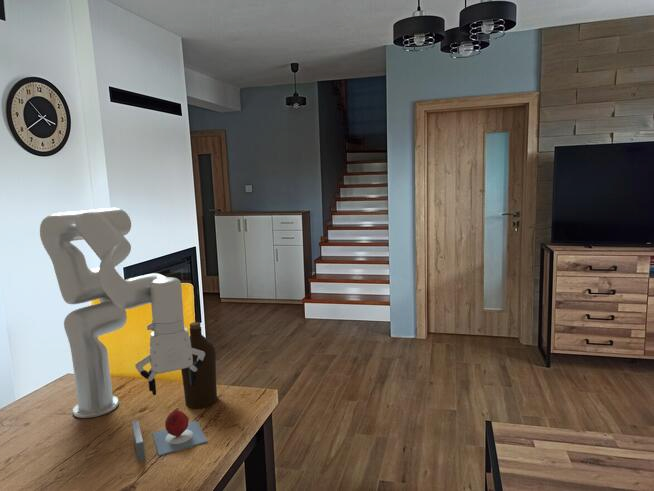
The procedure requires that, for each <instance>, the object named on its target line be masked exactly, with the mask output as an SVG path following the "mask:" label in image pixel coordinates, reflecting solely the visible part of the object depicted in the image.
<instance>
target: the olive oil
mask: <svg viewBox="0 0 654 491" xmlns="http://www.w3.org/2000/svg"><path fill="white" fill-rule="evenodd" d="M189 336H190V342H191V348H194V349H197V350H201V351H204V353H205V356H204V359H203V360H202V364H201V365H200V366H199V367H198V368H197V371H196V382H194V384H195V386H193V387H192V386H191V384H190V382H189V367H188V368H185V369H180V371H181V377H182V383H183V392H184V394H183V395H184V401H185V405H186V406H187V407H188V408H190V409H203V408H204V409H205V408H207V407H210V406H211V405H214V404H215V403H216V401H217V400H218V395H217V394H218V392H217V367H216V366H217V362H216V360H217V358H216V357H217V355H216V349H215V346H214V344H213V343H212V342H211V341H210V339H208V338H207V337H205V336H204V335H203V334H202V326H201V322H200V321H194V322H190V323H189ZM192 357H193V363H194V362H195V361H196V359H197V358H198V355H194V354H192Z"/></svg>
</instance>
